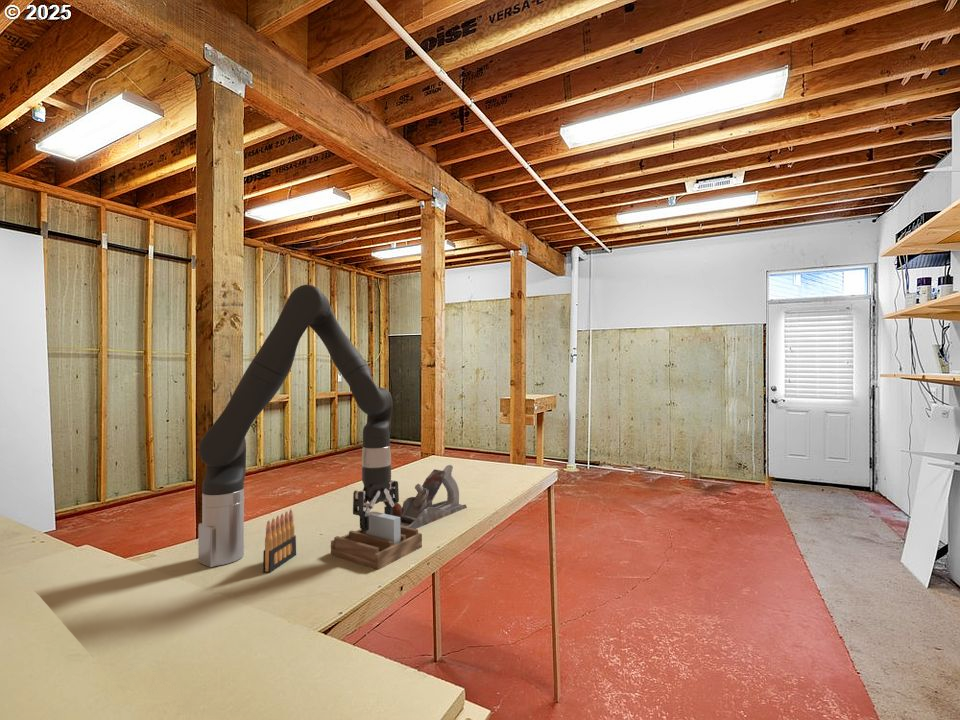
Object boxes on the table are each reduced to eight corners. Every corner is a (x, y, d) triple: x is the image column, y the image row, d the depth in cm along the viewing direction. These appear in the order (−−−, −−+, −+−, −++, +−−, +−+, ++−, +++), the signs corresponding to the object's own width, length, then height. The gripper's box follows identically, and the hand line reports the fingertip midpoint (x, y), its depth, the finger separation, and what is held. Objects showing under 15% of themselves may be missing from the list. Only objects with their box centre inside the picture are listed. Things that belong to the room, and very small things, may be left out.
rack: (378, 569, 107) (377, 550, 107) (330, 554, 117) (330, 536, 117) (421, 546, 121) (421, 530, 121) (376, 535, 130) (376, 519, 130)
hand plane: (375, 531, 134) (375, 480, 134) (448, 503, 161) (447, 461, 161) (396, 538, 129) (396, 485, 129) (468, 508, 156) (467, 464, 156)
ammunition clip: (269, 573, 106) (269, 521, 107) (262, 572, 107) (262, 521, 107) (296, 554, 117) (296, 508, 117) (290, 554, 117) (289, 507, 117)
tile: (394, 551, 114) (393, 519, 114) (366, 543, 120) (366, 513, 120) (400, 548, 116) (400, 517, 116) (372, 540, 122) (372, 511, 122)
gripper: (366, 470, 111) (366, 536, 111) (405, 460, 123) (406, 520, 123) (345, 467, 115) (345, 531, 115) (385, 457, 127) (386, 515, 127)
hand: (377, 525), depth 119 cm, fingers open, 8 cm apart
